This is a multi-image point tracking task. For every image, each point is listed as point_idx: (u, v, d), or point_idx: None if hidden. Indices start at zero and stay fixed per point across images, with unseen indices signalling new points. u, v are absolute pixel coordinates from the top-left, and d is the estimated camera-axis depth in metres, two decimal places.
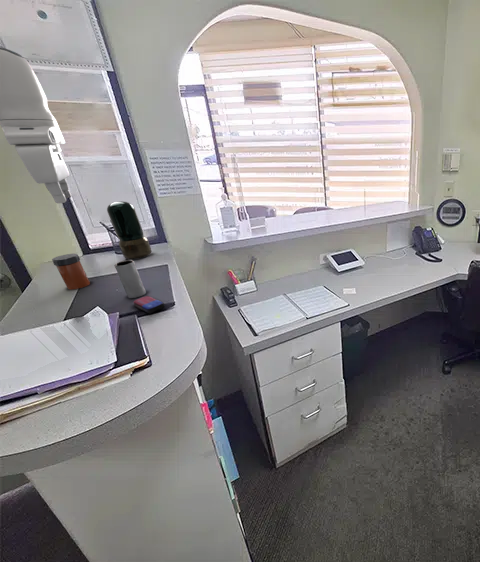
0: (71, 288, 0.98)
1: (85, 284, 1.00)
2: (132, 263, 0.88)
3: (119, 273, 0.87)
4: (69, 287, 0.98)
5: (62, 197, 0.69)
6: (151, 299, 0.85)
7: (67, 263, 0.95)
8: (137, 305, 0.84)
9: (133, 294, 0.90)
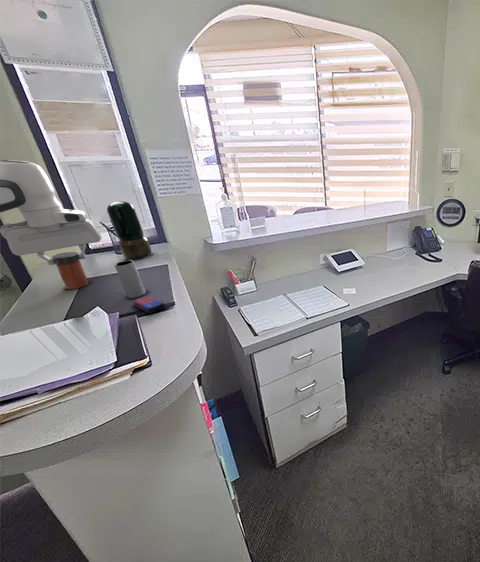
0: (71, 287, 0.98)
1: (85, 283, 1.00)
2: (132, 263, 0.88)
3: (119, 273, 0.87)
4: (69, 286, 0.98)
5: (84, 254, 1.00)
6: (151, 299, 0.85)
7: None
8: (137, 305, 0.84)
9: (133, 294, 0.90)
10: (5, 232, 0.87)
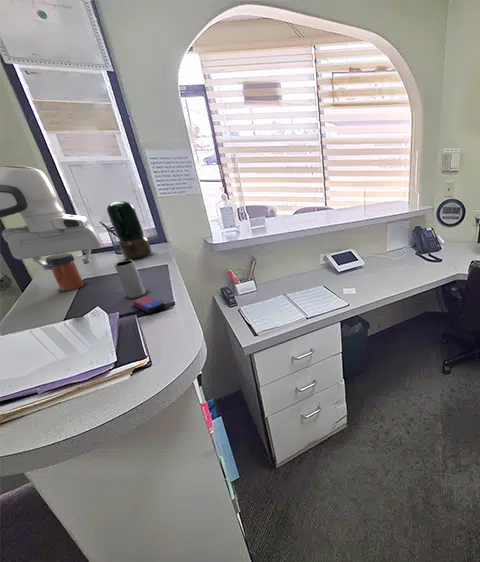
0: (65, 289, 0.97)
1: (80, 285, 0.99)
2: (132, 263, 0.88)
3: (119, 273, 0.87)
4: (63, 288, 0.97)
5: (89, 258, 1.00)
6: (151, 299, 0.85)
7: None
8: (137, 305, 0.84)
9: (133, 294, 0.90)
10: (7, 236, 0.88)
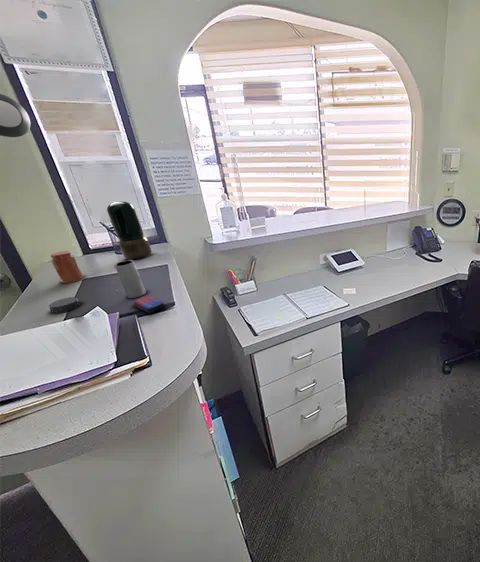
0: (66, 281, 1.03)
1: (79, 278, 1.05)
2: (132, 263, 0.88)
3: (119, 273, 0.87)
4: (64, 280, 1.03)
5: None
6: (151, 299, 0.85)
7: None
8: (137, 305, 0.84)
9: (133, 294, 0.90)
10: None
